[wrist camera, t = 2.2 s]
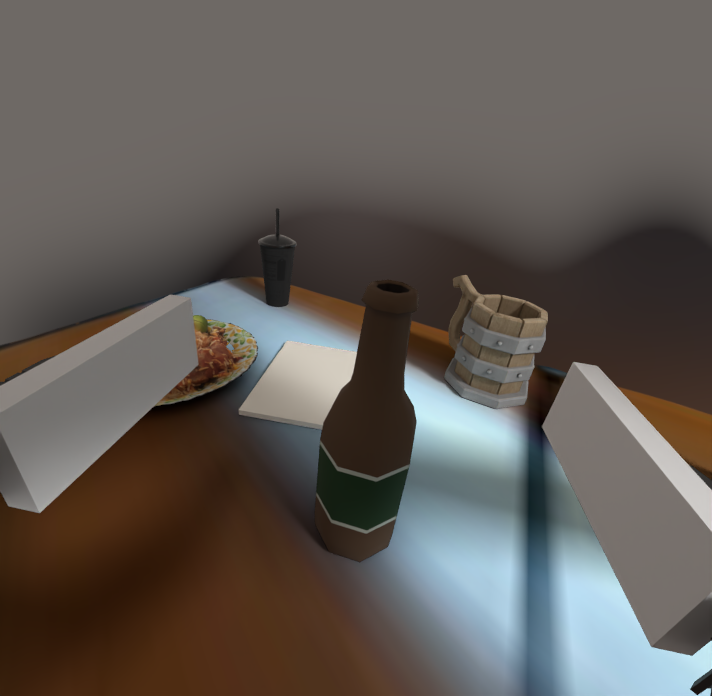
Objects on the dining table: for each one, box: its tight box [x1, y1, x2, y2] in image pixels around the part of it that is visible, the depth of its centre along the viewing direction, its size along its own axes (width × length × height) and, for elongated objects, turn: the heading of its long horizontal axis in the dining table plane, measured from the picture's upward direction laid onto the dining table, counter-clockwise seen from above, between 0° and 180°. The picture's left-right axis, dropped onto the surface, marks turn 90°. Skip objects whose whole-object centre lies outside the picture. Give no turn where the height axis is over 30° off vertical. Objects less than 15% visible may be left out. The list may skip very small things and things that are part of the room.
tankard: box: [444, 275, 548, 409], centre depth 58 cm, size 20×13×15 cm, turn 19°
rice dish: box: [84, 315, 258, 406], centre depth 54 cm, size 28×28×5 cm
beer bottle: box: [315, 280, 419, 562], centre depth 28 cm, size 8×8×24 cm
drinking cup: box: [259, 209, 296, 307], centre depth 75 cm, size 8×8×20 cm
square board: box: [239, 341, 357, 430], centre depth 53 cm, size 20×20×1 cm
